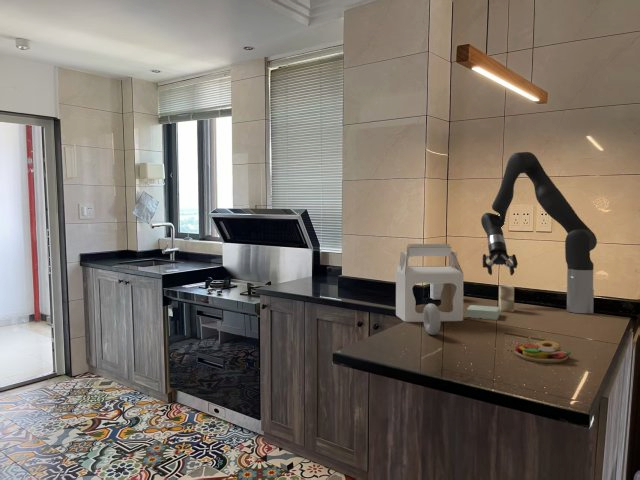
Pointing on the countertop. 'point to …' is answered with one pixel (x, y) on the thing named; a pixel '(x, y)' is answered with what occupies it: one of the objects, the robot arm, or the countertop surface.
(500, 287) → the maple block
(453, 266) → the gable box
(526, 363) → the countertop surface
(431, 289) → the supplement box
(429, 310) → the donut
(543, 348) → the toy food set
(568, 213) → the robot arm
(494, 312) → the base slab
